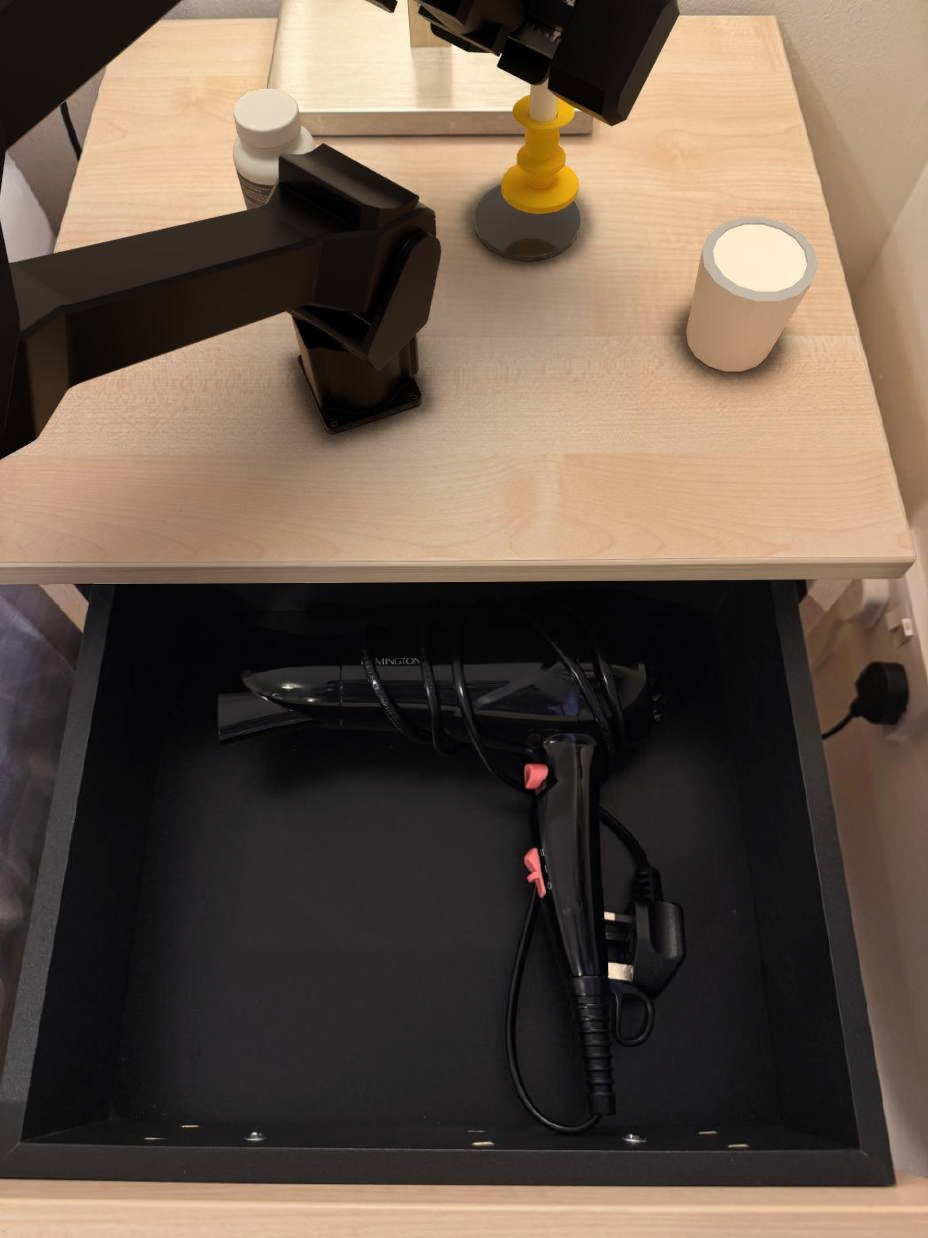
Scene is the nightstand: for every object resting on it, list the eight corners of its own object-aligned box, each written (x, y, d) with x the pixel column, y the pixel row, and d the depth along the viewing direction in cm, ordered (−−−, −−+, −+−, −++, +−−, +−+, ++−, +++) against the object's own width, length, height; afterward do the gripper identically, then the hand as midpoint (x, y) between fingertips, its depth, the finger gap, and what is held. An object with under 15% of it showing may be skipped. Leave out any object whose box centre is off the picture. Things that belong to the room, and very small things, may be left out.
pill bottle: (311, 273, 61) (285, 147, 52) (242, 253, 62) (204, 125, 53) (343, 221, 63) (323, 90, 54) (275, 202, 64) (245, 70, 55)
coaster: (499, 273, 61) (499, 268, 61) (458, 201, 64) (458, 196, 64) (597, 242, 62) (598, 237, 62) (552, 172, 65) (553, 168, 65)
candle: (496, 211, 58) (497, -61, 45) (505, 163, 61) (508, -110, 47) (575, 216, 58) (600, -58, 44) (580, 167, 60) (606, -107, 47)
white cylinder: (777, 387, 57) (816, 308, 51) (671, 370, 58) (697, 290, 51) (783, 307, 60) (820, 223, 53) (682, 292, 60) (707, 207, 54)
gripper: (712, -231, 33) (765, -43, 47) (344, -368, 38) (490, -162, 52) (567, 76, 38) (655, 166, 52) (255, -81, 43) (411, 40, 56)
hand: (552, 47), depth 53 cm, fingers closed on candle
